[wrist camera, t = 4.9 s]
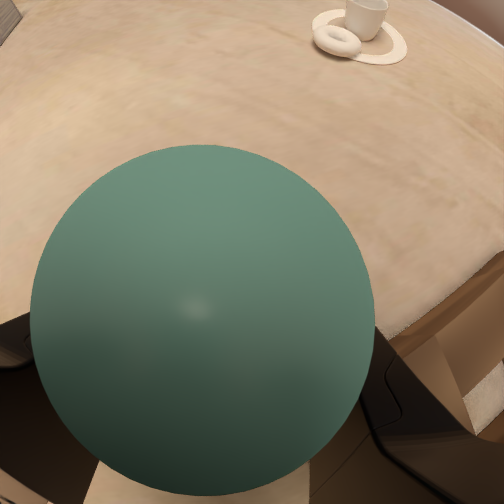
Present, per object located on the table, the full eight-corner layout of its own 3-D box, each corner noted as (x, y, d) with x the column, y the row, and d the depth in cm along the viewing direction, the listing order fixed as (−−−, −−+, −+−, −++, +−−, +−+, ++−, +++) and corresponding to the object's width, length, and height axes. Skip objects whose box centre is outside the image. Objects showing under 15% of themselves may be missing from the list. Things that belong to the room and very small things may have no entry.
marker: (306, 345, 14) (433, 387, 3) (231, 384, 14) (120, 523, 2) (266, 272, 15) (257, 97, 4) (192, 310, 15) (5, 244, 3)
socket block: (548, 400, 12) (586, 404, 8) (420, 519, 11) (447, 550, 7) (497, 252, 15) (538, 234, 11) (343, 370, 14) (368, 382, 10)
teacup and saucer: (325, 73, 19) (333, 29, 15) (288, 16, 21) (289, -21, 17) (422, 68, 19) (439, 33, 15) (376, 14, 21) (385, -19, 17)
